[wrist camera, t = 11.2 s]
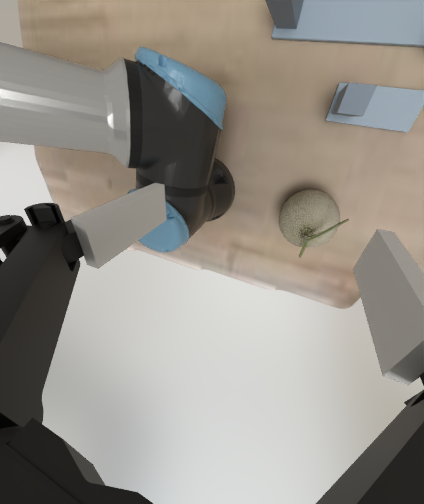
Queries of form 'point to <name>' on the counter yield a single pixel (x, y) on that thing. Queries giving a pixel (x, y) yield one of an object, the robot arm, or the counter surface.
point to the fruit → (309, 219)
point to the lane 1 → (349, 21)
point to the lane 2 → (376, 106)
